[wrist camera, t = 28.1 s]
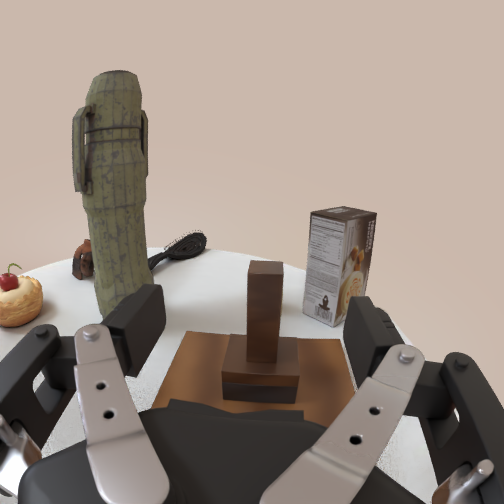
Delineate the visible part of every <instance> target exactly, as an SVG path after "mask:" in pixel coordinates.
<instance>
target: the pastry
mask: <svg viewBox="0 0 504 504" xmlns="http://www.w3.org/2000/svg"><path fill="white" fill-rule="evenodd" d="M12 265H15V266H17V267H19V266H18V265H16V264H14V263H12V264H10V265H9V267H8V273H5V274H2V275H1V276H0V325H2V326H5V327H15V326H20V325H23V324H25V323H28V322H30V321H31V320H33V319H34V318H35V317H36V316H37V315H38V314H39V313H40V311H41V308H42V303H43V292H42V286H41V284H40V283H39V281H38V280H37V279H36V280H35V279H34V278H32V279H31V278H30V277H29V276H26V277H24V276H20V277H17V276H15V275H14V274H11V273H9V268H10V266H12ZM19 268H20V267H19ZM20 269H21V268H20Z"/></svg>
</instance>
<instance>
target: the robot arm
mask: <svg viewBox="0 0 504 504" xmlns="http://www.w3.org/2000/svg"><path fill="white" fill-rule="evenodd" d="M165 325H166V313H165V305H164V296H163V289H162V286H161V285H157V284H146V283H144V284H143V285H142V286H141V287H140V288H139V289H138V290H137V291H136V293H132V294H130V295H128V296H126V297H124V298H123V299H122V300H121V301H120V302H119V303H118V305H117V306H116V307H115V308H114V310H112V311H111V312H110V313H109V314H108V315H107V316H106V318H105V319H104V320H103V321H102V322H101V323H100V324H89V325H86V326H84V327H82V328H80V329H79V330H78V331H77V332H76V333H75V336H59V333H58V330H57V328H56V327H55V326H54V325H51V324H44V325H40V326H37V327H35V328H33V329H32V330H31V331H30V332H29V333H28V334H27V335H26V336H25V337H24V338H23V339H22V340H21V341H20V342H19V343H18V344H17V345H16V346H15V347H14V348H13V349H12V350H11V351H10V352H9V353H8V354H7V355H6V356H5V358H4V359H3V360H2V361H1V362H0V494H2V495H4V496H7V497H12V496H13V497H15V498H16V499H18V504H426V503H425V502H423V501H422V500H420V499H419V498H418V497H416V496H415V495H413V494H412V493H411V492H409V491H408V490H406V489H405V488H404V487H402V486H401V485H400V484H398V483H397V482H396V481H394V480H393V479H392V478H391V477H389V476H388V475H387V474H385V473H384V472H383V471H382V470H380V469H379V468H378V467H377V466H375V464H376V462H377V461H378V459H379V457H380V456H381V454H382V452H383V451H384V449H385V447H386V445H387V444H388V442H389V440H390V438H391V436H392V434H393V432H394V431H395V429H396V427H397V425H398V423H399V421H400V419H401V417H402V415H406V416H414V417H418V418H419V421H420V425H421V428H422V431H423V434H424V437H425V440H426V444H427V447H428V450H429V454H430V457H431V461H432V464H433V468H434V472H435V476H436V479H437V483H438V488H437V489H436V490H435V492H434V494H433V496H432V504H504V409H503V407H502V405H501V403H500V402H499V400H498V398H497V396H496V395H495V393H494V391H493V390H492V388H491V386H490V385H489V383H488V381H487V380H486V378H485V377H484V375H483V374H482V372H481V370H480V369H479V367H478V366H477V364H476V363H475V361H474V360H473V359H472V358H471V357H469V356H468V355H466V354H463V353H459V352H453V353H449V354H448V355H447V356H446V357H445V359H444V362H443V363H437V362H430V361H425V358H424V355H423V354H422V352H421V351H420V350H418V349H417V348H415V347H413V346H410V345H405V343H404V341H403V339H402V338H401V336H400V334H399V333H398V331H397V329H396V328H395V326H394V324H393V322H392V321H391V319H390V317H389V316H388V314H387V313H386V312H384V311H383V310H382V309H380V308H375V307H374V305H373V303H372V301H371V300H370V298H369V297H368V296H351V297H350V300H349V304H348V310H347V315H346V319H345V324H344V330H343V340H344V344H345V347H346V350H347V354H348V357H349V360H350V364H351V367H352V370H353V374H354V377H355V381H356V384H357V388H358V390H357V392H356V393H355V395H354V396H353V397H352V399H351V400H350V401H349V403H348V404H347V405H346V406H345V408H344V409H343V410H342V412H341V413H340V414H339V415H338V417H337V418H336V419H335V420H334V422H333V423H332V424H331V425H330V427H329V428H327V427H325V426H323V425H321V424H318V423H315V422H312V421H308V420H304V410H274V409H269V410H262V411H254V412H245V413H231V412H227V411H224V410H221V409H218V408H215V407H212V406H209V405H206V404H203V403H197V402H190V401H184V400H178V399H172V398H170V400H169V403H168V405H167V407H160V408H153V409H148V410H145V411H142V412H139V413H137V410H136V408H135V405H134V403H133V400H132V397H131V395H130V392H129V389H128V387H127V384H126V381H125V376H130V377H135V378H137V376H138V374H139V372H140V371H141V369H142V367H143V365H144V364H145V362H146V360H147V358H148V357H149V355H150V353H151V351H152V350H153V348H154V346H155V344H156V343H157V341H158V339H159V337H160V336H161V334H162V332H163V331H164V328H165ZM40 371H42V373H43V375H44V377H45V379H44V381H43V382H42V383H41V385H40V386H39V388H38V389H37V390H36V392H35V393H34V391H33V381H34V379H35V377H36V376H37V375H38V373H39V372H40ZM76 390H77V395H78V401H79V406H80V412H81V417H82V422H83V427H84V431H85V435H86V439H85V440H83V441H81V442H79V443H77V444H75V445H72V446H70V447H68V448H66V449H64V450H61V451H59V452H57V453H55V454H52V455H50V456H48V457H45V458H43V459H42V454H41V450H42V448H43V446H44V445H45V443H46V441H47V439H48V437H49V436H50V434H51V432H52V430H53V429H54V427H55V425H56V423H57V422H58V420H59V418H60V417H61V415H62V413H63V412H64V410H65V408H66V407H67V405H68V403H69V402H70V400H71V398H72V397H73V395H74V394H75V392H76ZM455 408H456V409H457V411H458V414H459V422H458V420H457V417H456V415H455V413H454V409H455Z"/></svg>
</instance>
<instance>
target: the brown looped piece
mask: <svg viewBox="0 0 504 504" xmlns="http://www.w3.org/2000/svg"><path fill="white" fill-rule="evenodd" d="M81 255H83V257H82V259H81ZM73 258H74V259H73V265H72V266H73V267H72V268H73V269H72V274H73V275H74V276H75V277H76V278H78V279H80V280H81V279H82V274H83V275H84V276H86V277H89V276H92V275H93V272H94V262H93V256H92V249H91V242H90V240H88V239H85V241H84V244H82V245H81V246H79V247H78V248H77V250H76V251H75V254H74V257H73Z"/></svg>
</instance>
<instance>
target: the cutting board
mask: <svg viewBox="0 0 504 504" xmlns="http://www.w3.org/2000/svg"><path fill="white" fill-rule="evenodd" d="M229 337H230V335H226V334H214V333H203V332H193V331H186V333H185V336H184V338H183V340H182V342H181V344H180V346H179V348H178V350H177V353H176V355H175V357H174V359H173V361H172V363H171V365H170V368H169V370H168V372H167V374H166V376H165V378H164V380H163V383H162V385H161V387H160V389H159V391H158V394H157V396H156V398H155V400H154V402H153V405H152V407H151V409H153V408H160V407H167V405H168V403H169V400H170V398H172V399H178V400H184V401H190V402H197V403H203V404H206V405H209V406H212V407H215V408H218V409H221V410H224V411H227V412H231V413H245V412H254V411H262V410H269V409H274V410H304V420H308V421H312V422H315V423H318V424H321V425H323V426H325V427H327V428H329V427H330V425H331V424H332V423H333V422H334V420H335V419H336V418H337V417H338V415H339V414H340V413H341V412H342V410H343V409H344V408H345V406H346V405H347V404H348V403H349V401H350V400H351V399H352V397H353V396H354V395H355V392H354V388H353V384H352V380H351V377H350V373H349V369H348V366H347V362H346V359H345V355H344V352H343V348H342V345H341V341H340V339H302V338H297V344H298V357H299V370H300V378H299V384H298V390H297V396H296V401H295V404H281V403H260V402H245V401H233V400H223V395H222V378H221V369H222V365H223V361H224V357H225V353H226V349H227V345H228V341H229Z"/></svg>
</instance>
